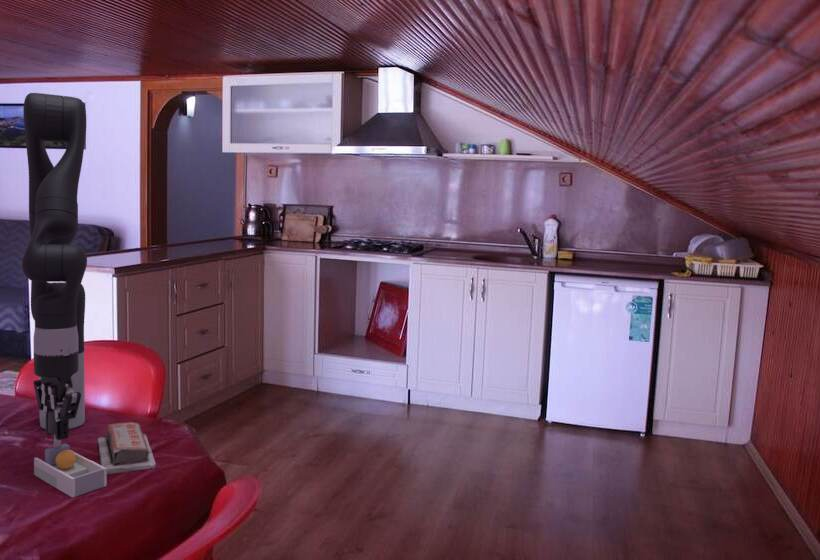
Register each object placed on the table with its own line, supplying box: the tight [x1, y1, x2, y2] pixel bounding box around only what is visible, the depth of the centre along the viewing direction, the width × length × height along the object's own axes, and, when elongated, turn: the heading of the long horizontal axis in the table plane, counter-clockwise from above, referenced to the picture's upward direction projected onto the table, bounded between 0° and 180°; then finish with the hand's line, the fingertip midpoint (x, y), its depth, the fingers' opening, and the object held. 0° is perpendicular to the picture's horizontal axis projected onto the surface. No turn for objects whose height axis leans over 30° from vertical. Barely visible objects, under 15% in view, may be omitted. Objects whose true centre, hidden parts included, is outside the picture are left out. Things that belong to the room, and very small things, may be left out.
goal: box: [56, 459, 108, 499], centre depth 123 cm, size 6×6×4 cm
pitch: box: [33, 449, 90, 489], centre depth 127 cm, size 8×6×3 cm
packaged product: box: [97, 421, 157, 475], centre depth 139 cm, size 18×5×10 cm
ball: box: [55, 449, 76, 469], centre depth 126 cm, size 4×4×4 cm
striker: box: [44, 409, 71, 465], centre depth 128 cm, size 3×4×10 cm
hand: (57, 435), depth 128 cm, fingers closed on striker, 3 cm apart
